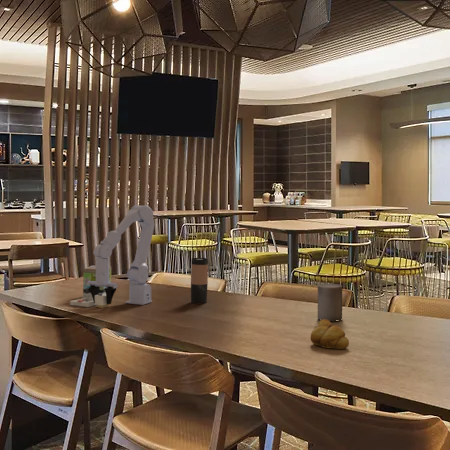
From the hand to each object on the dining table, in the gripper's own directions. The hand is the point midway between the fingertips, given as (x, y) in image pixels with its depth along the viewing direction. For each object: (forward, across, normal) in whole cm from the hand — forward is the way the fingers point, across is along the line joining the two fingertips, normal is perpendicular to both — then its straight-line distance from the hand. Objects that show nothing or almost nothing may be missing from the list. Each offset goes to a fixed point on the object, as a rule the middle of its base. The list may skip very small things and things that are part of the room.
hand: (102, 303), depth 245 cm
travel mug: (+2, +32, +29) cm, 43 cm away
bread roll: (+2, +106, -20) cm, 107 cm away
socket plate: (+1, -9, +1) cm, 9 cm away
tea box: (+2, -16, +17) cm, 23 cm away
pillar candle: (+2, +95, +20) cm, 97 cm away
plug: (+2, 0, 0) cm, 2 cm away
